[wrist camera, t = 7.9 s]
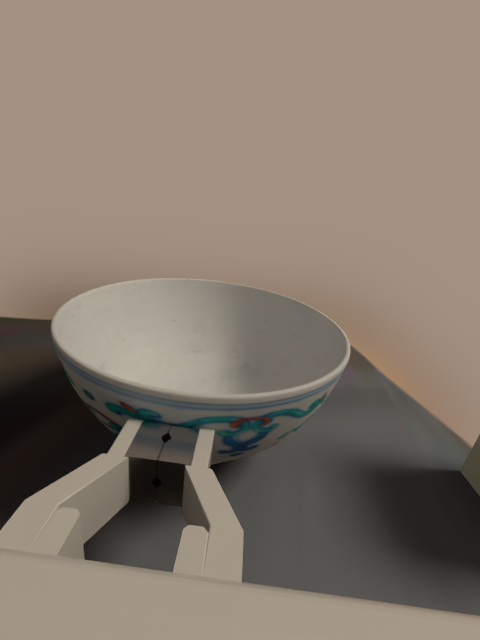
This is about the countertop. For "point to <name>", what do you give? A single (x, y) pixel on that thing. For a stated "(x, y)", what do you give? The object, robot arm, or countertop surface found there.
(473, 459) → the sage block
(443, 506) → the countertop surface
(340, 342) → the chinaware
